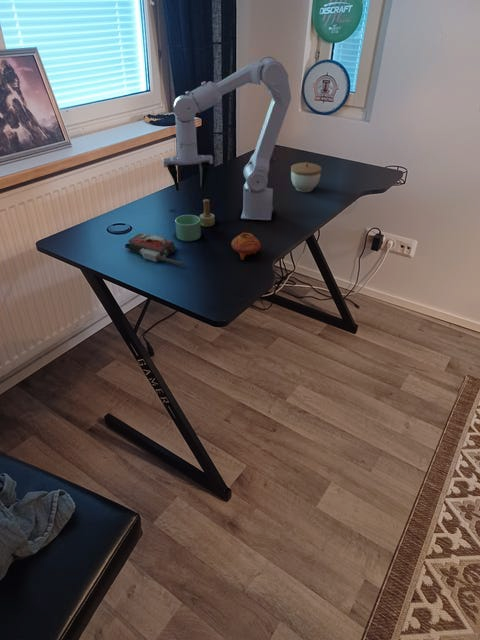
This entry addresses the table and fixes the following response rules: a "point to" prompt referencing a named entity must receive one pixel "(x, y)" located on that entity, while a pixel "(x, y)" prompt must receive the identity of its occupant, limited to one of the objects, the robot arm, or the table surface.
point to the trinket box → (305, 176)
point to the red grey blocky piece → (152, 248)
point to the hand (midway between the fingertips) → (189, 188)
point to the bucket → (188, 227)
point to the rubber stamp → (207, 215)
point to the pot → (245, 244)
